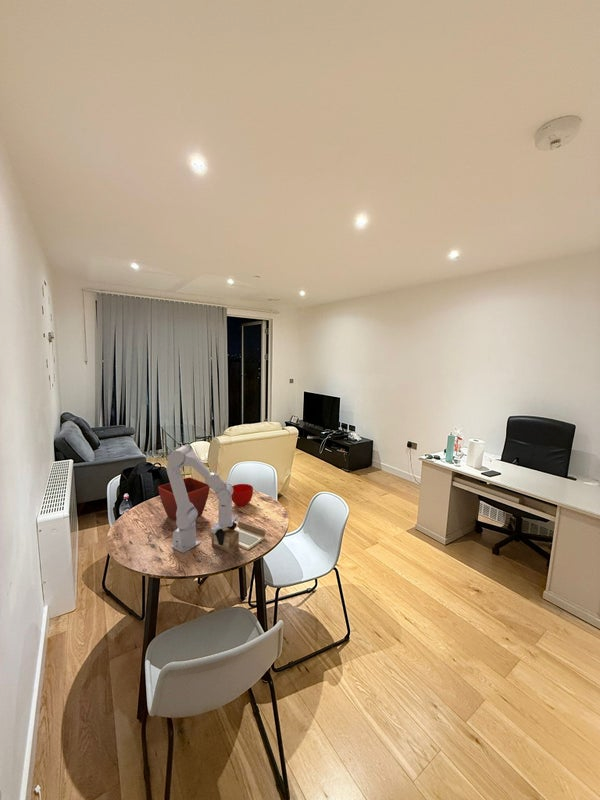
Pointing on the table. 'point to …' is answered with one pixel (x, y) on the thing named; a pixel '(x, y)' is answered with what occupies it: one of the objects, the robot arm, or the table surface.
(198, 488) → the plant pot
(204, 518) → the table surface
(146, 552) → the table surface
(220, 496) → the robot arm
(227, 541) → the brown slab
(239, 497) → the ceramic cup
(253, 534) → the tan rimmed flat piece
